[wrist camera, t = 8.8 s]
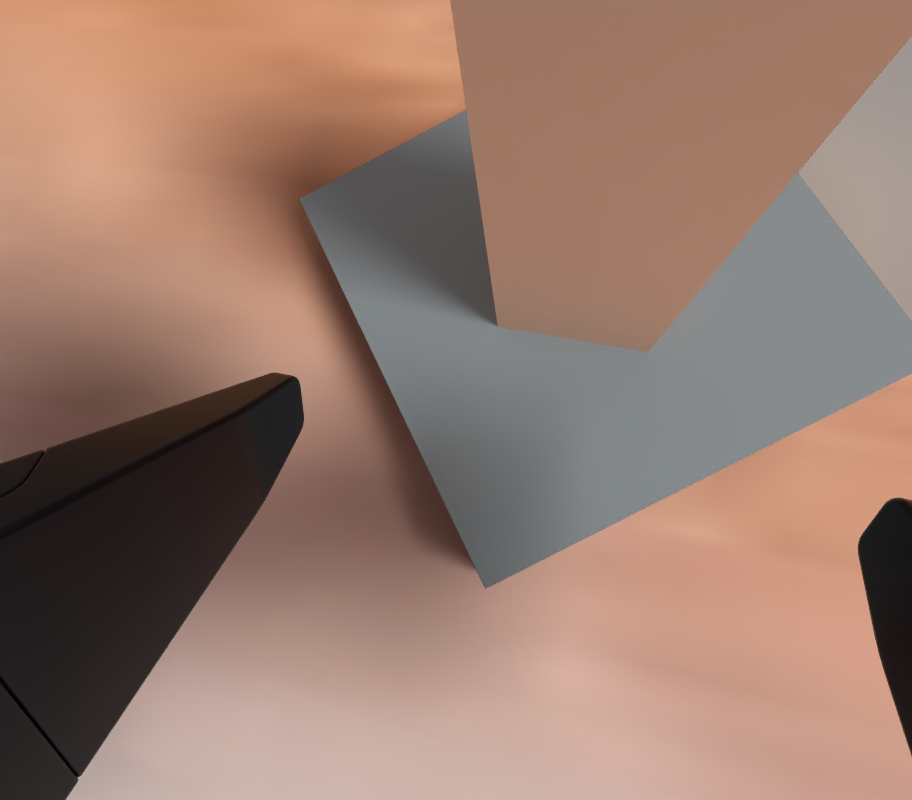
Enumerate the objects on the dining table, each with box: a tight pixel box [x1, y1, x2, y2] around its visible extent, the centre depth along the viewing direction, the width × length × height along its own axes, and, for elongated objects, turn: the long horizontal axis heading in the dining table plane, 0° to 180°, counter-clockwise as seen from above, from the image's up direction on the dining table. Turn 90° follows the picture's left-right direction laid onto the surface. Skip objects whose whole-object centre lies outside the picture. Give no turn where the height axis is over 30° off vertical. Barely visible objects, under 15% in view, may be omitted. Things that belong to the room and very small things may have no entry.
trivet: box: [299, 111, 912, 589], centre depth 17 cm, size 14×14×2 cm
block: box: [450, 0, 912, 352], centre depth 10 cm, size 4×4×13 cm
